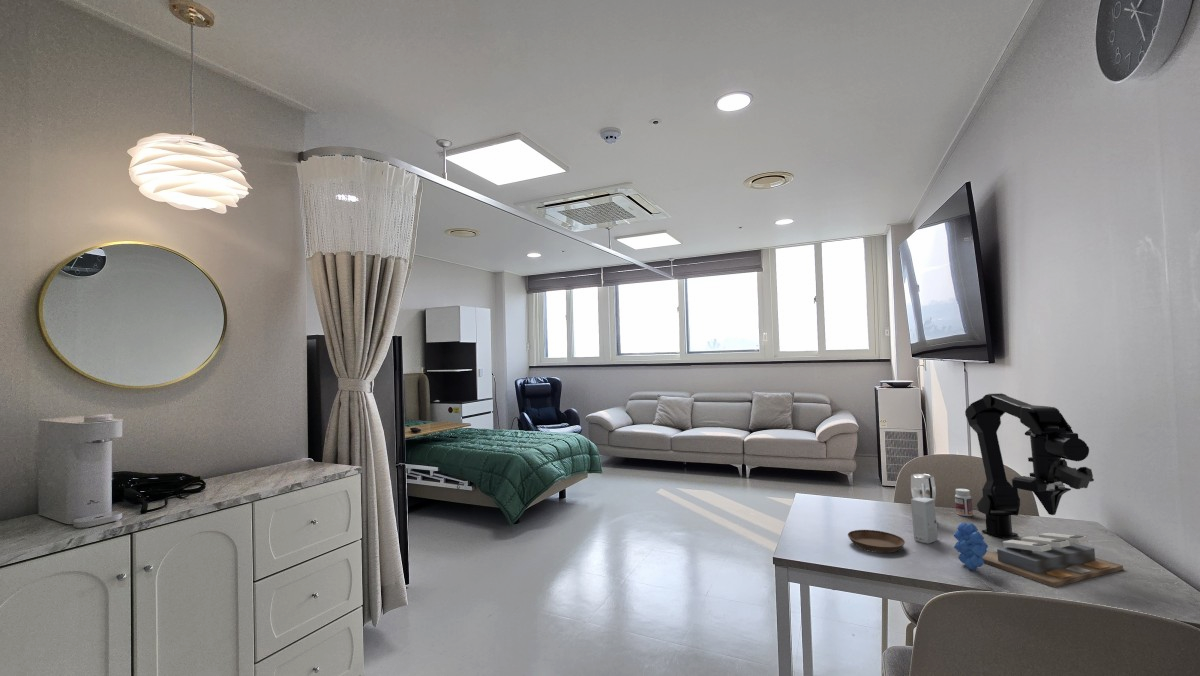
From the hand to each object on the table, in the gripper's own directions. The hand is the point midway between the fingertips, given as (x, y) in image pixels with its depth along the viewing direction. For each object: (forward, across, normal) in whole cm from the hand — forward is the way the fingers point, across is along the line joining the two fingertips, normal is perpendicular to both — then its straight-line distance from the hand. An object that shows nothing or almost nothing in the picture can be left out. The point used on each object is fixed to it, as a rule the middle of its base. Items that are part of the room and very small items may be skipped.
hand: (1051, 514), depth 130 cm
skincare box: (+12, -16, +24) cm, 32 cm away
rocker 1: (+6, -11, 0) cm, 12 cm away
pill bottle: (+12, +18, +39) cm, 45 cm away
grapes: (+13, -23, +4) cm, 26 cm away
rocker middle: (+6, -4, 0) cm, 7 cm away
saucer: (+13, -33, +26) cm, 44 cm away
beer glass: (+12, 0, +38) cm, 40 cm away
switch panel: (+12, -4, 0) cm, 13 cm away
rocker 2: (+6, +3, 0) cm, 7 cm away
